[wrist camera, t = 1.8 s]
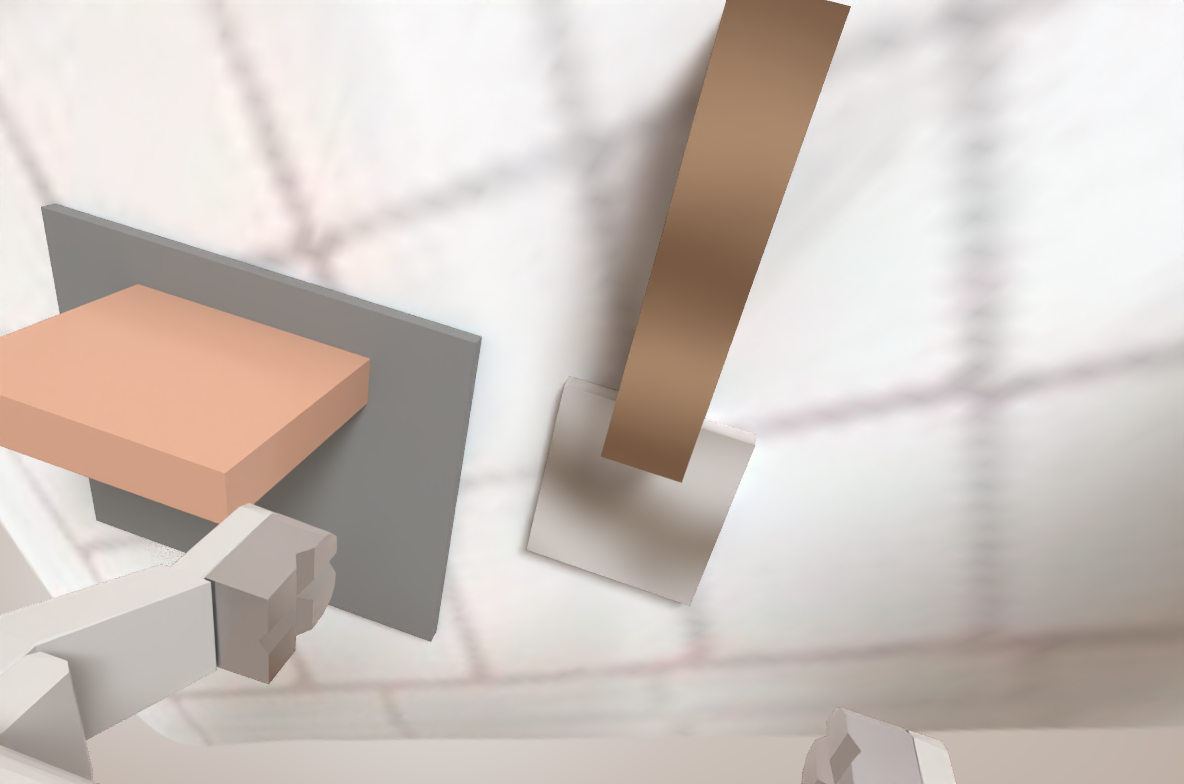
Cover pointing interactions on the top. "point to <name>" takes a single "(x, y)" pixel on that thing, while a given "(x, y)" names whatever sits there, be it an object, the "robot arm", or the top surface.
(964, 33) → the top surface
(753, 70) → the turner
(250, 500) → the tile
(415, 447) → the mat
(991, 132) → the top surface
